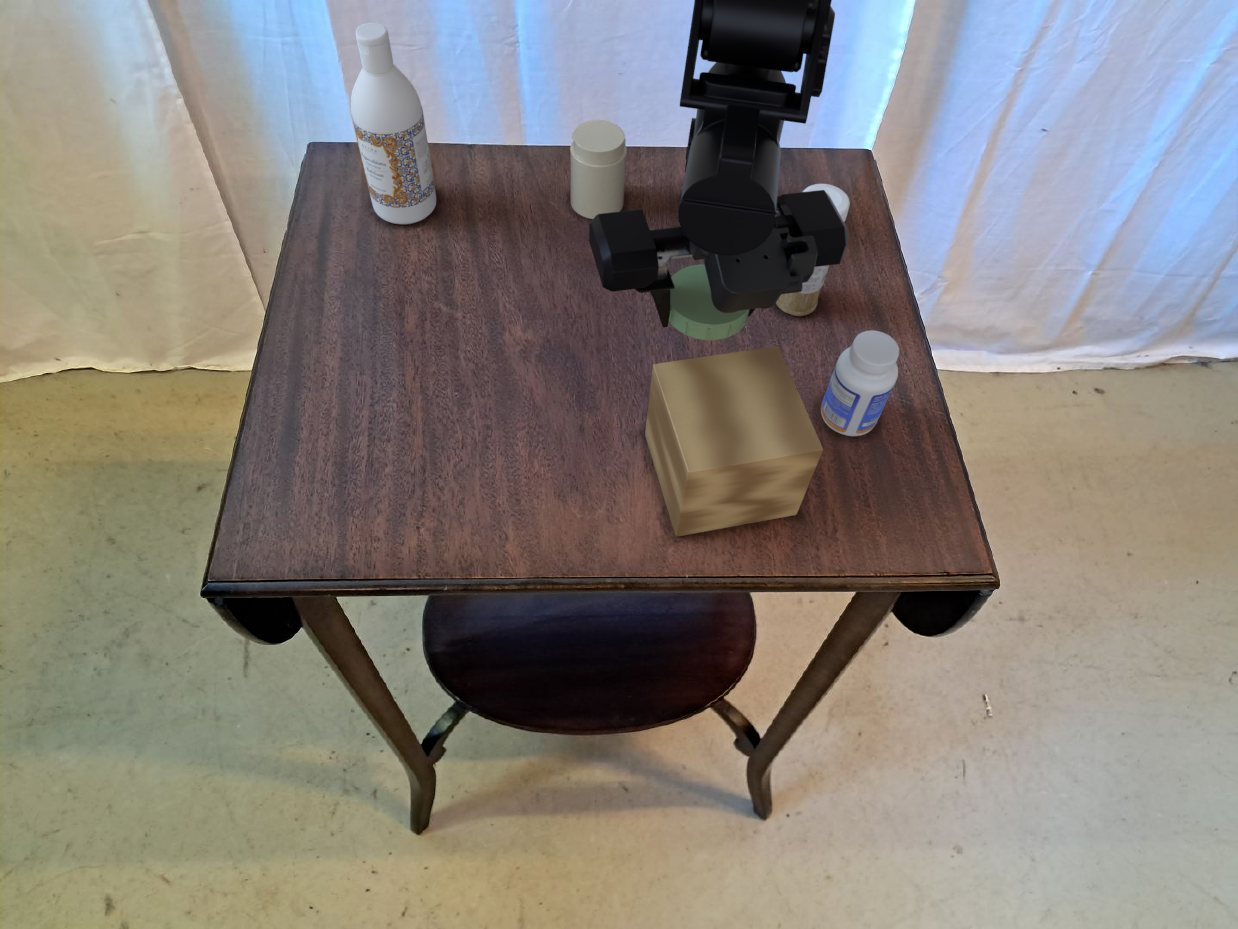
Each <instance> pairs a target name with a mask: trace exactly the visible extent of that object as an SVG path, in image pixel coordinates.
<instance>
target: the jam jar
mask: <svg viewBox="0 0 1238 929" xmlns="http://www.w3.org/2000/svg"><path fill="white" fill-rule="evenodd" d="M571 139H572V140H571V144H570V147H569V154H570V155H569V158H570V160H569V162H570V168H569V171H570V172H569V177H570V178H569V179H570V181H569V185H570V186H569V187H570V191H569V192H570V193H569V194H570V197H569V198H570V207H571V208H572V209H573V211H574V212H575V213H577V215H579V216H581V217H583V218H586V219H589V220H593V219H594V217H595V216H596V215H597V214H603V213H612V212H622V209H623V207H624V204H625V203H624V202H625V189H626V186H625V185H626V173H627V172H626V170H627V154H628V148H627V145H626V135H625V133H624V130H623V129H622V128H621V126H619V125H618V124H616V123H614V122H611V121H608V120H603V119H595V120H594V119H593V120H587V121H585V122H582V123H580V124H579V125H578V126H576V128H574V130H573V132H572V133H571Z"/></svg>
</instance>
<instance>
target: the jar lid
mask: <svg viewBox="0 0 1238 929" xmlns="http://www.w3.org/2000/svg"><path fill="white" fill-rule="evenodd" d="M671 278H672V281H673V284H674V286H675V288H674V289H670V316H669V323H670V325H671V326H672V327H673V328H674V329H675V330H677V331H678V332H680V333H682V334H683V335H685V336H688V337H690V338H693V339H696V340H700V341H720V340H724V339H729V338H731V337H732V336H734V335H737V333H738V332H740V331H741V330H742V329H743V328H745V326H746V323H747V321H748V313H749V310H750V309H748V310H740V311H736V312H733V313H723V312H720V311H719V310H717V309H716V308H715V306H714V305H713V302H712V298H711V290H710V286H709V281H708V277H707V273H706V269H705V264H704V263H701V264H693V265H689V266H686V267H683V268H682V269H679V270H678V271H677V272H675V273H673V275H672V276H671Z"/></svg>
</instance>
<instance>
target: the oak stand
mask: <svg viewBox="0 0 1238 929" xmlns="http://www.w3.org/2000/svg"><path fill="white" fill-rule="evenodd" d="M650 379H651V381H650V389H649V398H648V406H647V414H646V424H645V432H644V438H645V440H646V444H647V446H648V450H649V454H650V457H651V459H652V463H653V468H654V470H655V473H656V476H657V479H658V483H659V486H660V489H661V493H662V497H663V500H664V503H665V506H666V509H667V513H668V516H669V519H670V523H671V526H672V529H673V532H674V536H675V537H683V536H688V535H693V534H699V533H704V532H709V531H715V530H721V529H726V528H731V527H737V526H743V525H748V524H754V523H760V522H765V521H770V520H775V519H782V518H787V517H792V516H796V515H798V512H799V510H800V507H801V505H802V502H803V501H804V497H805V496H806V492H807V490H808V488H809V486H810V483H811V480H812V478H813V476H814V474H815V471H816V468H817V467H818V464H819V461H820V460H821V457H822V454H823V451H824V448H823V446H822V443H821V441H820V439H819V436H818V434H817V431H816V429H815V426H814V424H813V423H812V420H811V417H810V415H809V413H808V411H807V408H806V406H805V403H804V401H803V400H802V397H801V395H800V392H799V391H798V388H797V386H796V383H795V380H794V378H793V376H792V374H791V372H790V369H789V366H788V365H787V363H786V360H785V357H784V356H783V353H782V351H781V348H780V346H779V345H774V346H767V347H766V346H765V347H759V348H753V349H745V350H740V351H732V352H727V353H719V354H713V355H707V356H699V357H693V358H686V359H685V358H684V359H680V360H673V361H664V362H658V363H653V364H652V372H651V378H650Z"/></svg>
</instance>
